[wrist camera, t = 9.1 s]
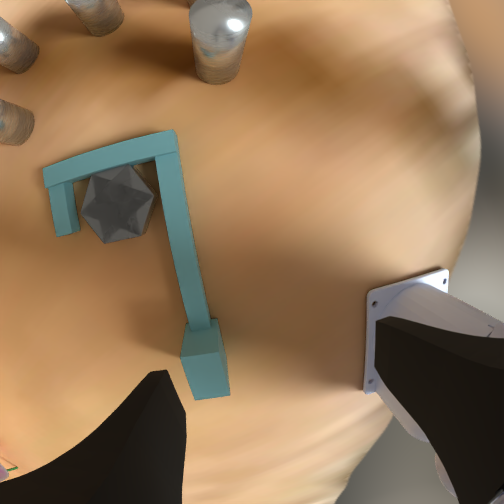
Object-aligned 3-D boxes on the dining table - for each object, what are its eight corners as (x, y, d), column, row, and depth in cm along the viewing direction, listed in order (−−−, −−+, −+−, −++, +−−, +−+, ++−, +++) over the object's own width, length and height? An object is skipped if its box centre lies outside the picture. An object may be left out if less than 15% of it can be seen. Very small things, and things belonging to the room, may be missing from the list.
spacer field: (242, 81, 15) (257, 31, 9) (9, 150, 13) (-47, 143, 7) (224, -15, 13) (230, -70, 7) (16, 53, 11) (-26, 27, 5)
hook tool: (226, 357, 18) (230, 395, 14) (110, 371, 17) (93, 405, 13) (183, 134, 15) (174, 116, 11) (55, 169, 14) (19, 166, 10)
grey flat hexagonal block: (165, 228, 16) (160, 231, 15) (96, 243, 16) (87, 247, 14) (153, 161, 15) (148, 159, 14) (85, 179, 15) (75, 179, 13)
